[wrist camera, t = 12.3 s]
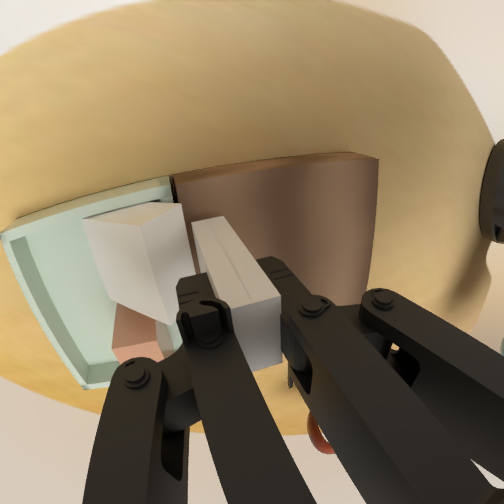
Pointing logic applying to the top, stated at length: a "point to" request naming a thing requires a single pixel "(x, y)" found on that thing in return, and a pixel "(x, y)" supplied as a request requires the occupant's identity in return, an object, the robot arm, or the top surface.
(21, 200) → the top surface
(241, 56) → the top surface
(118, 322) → the tile terracotta
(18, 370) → the top surface
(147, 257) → the tile white
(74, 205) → the tray
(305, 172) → the board
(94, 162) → the top surface
